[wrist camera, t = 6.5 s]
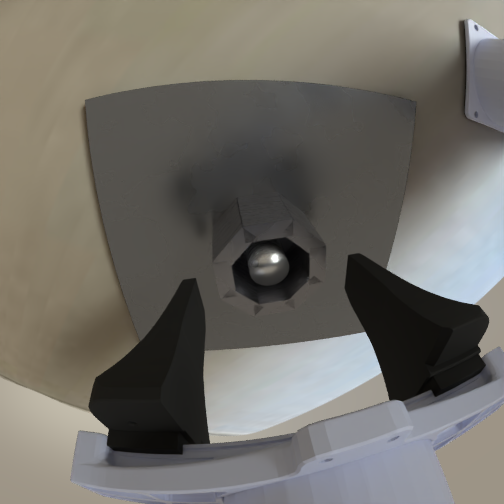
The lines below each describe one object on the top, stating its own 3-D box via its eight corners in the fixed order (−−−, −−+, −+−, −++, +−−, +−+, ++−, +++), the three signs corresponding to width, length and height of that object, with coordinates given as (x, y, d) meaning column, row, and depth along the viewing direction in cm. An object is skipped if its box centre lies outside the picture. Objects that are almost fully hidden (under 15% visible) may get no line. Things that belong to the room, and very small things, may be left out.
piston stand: (410, 100, 13) (445, 107, 10) (362, 326, 23) (377, 354, 20) (89, 99, 11) (60, 103, 9) (145, 346, 21) (139, 378, 18)
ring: (304, 188, 15) (327, 215, 12) (305, 267, 18) (323, 304, 15) (207, 201, 15) (206, 231, 12) (222, 280, 18) (225, 321, 15)
